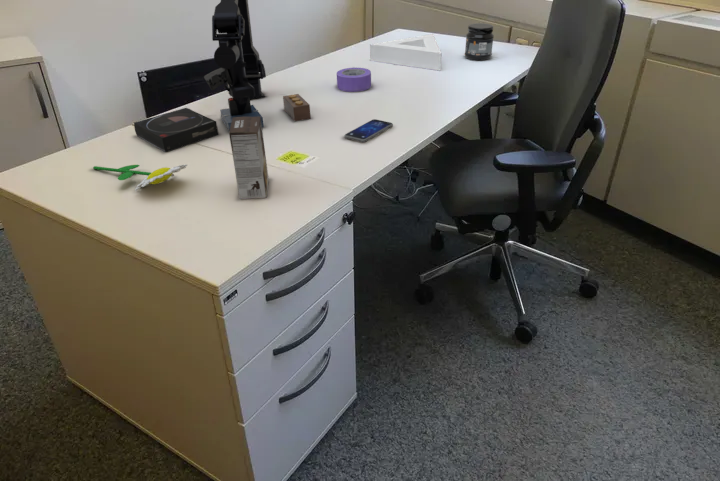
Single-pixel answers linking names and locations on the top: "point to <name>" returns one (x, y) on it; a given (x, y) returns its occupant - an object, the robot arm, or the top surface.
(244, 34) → the robot arm
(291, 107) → the token holder
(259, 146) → the coffee box
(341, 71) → the tape roll
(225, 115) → the dial panel
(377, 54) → the triangle block
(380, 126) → the smartphone
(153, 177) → the decorative flower
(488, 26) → the supplement container
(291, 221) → the top surface
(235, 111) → the black block red tip
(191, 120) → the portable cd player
